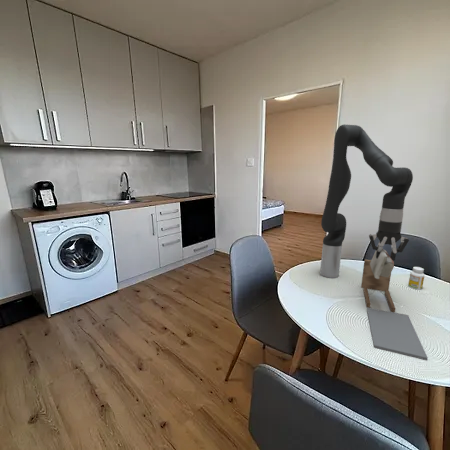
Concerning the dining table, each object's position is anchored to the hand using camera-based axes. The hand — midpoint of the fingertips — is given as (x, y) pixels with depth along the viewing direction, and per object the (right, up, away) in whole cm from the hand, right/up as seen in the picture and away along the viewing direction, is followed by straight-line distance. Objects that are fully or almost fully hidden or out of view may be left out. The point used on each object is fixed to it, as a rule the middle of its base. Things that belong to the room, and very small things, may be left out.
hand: (385, 260), depth 103 cm
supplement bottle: (+26, -16, +17) cm, 35 cm away
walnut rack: (+1, -18, +8) cm, 20 cm away
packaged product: (-2, -6, +2) cm, 7 cm away
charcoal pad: (-6, -23, -14) cm, 28 cm away
